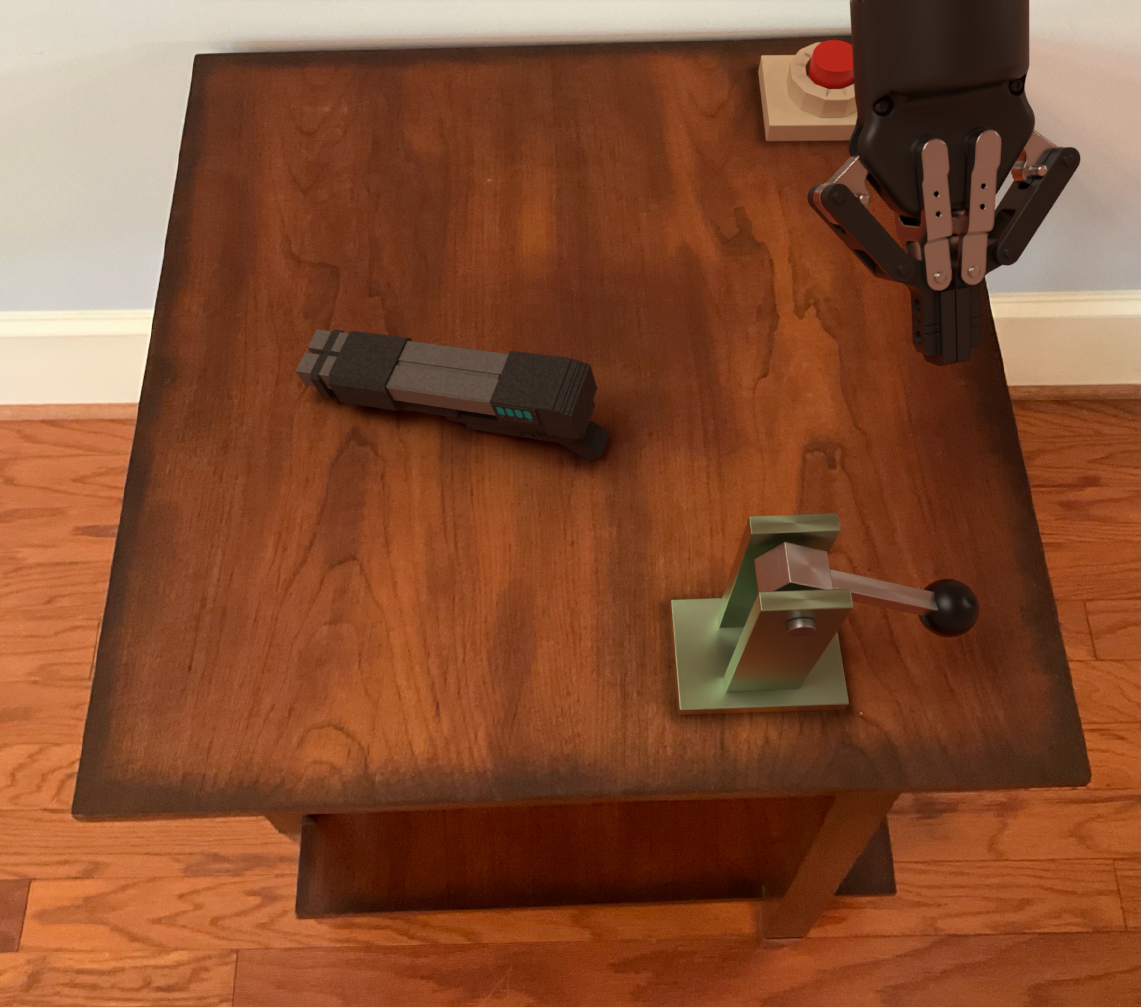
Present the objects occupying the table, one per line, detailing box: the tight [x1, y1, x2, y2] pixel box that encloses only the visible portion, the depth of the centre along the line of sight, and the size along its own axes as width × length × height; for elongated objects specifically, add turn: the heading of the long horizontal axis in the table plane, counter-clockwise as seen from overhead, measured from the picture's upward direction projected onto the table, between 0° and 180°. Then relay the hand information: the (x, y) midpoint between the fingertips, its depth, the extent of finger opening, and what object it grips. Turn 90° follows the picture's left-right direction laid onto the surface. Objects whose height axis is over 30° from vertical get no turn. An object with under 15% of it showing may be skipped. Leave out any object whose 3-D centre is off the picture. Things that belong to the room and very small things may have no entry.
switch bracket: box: [668, 512, 854, 716], centre depth 55 cm, size 10×7×15 cm
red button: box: [809, 39, 854, 89], centre depth 79 cm, size 4×4×2 cm
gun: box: [294, 328, 610, 462], centre depth 68 cm, size 4×20×10 cm, turn 73°
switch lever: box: [755, 542, 980, 638], centre depth 53 cm, size 14×3×3 cm, turn 92°
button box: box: [757, 41, 857, 142], centre depth 81 cm, size 10×8×4 cm
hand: (947, 360), depth 50 cm, fingers closed
